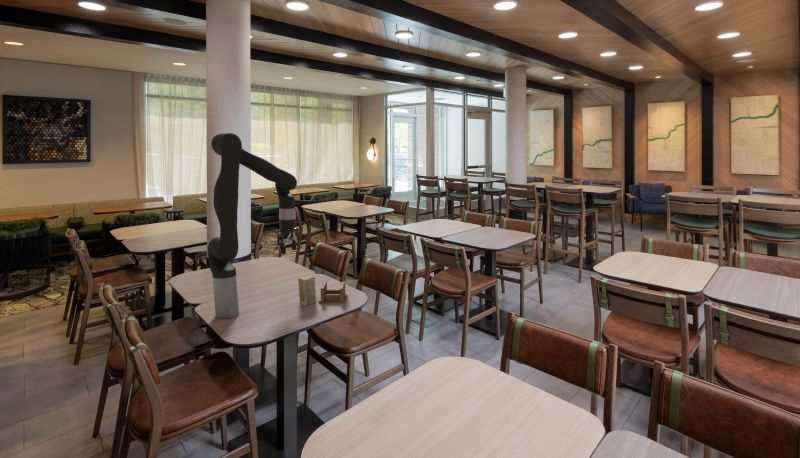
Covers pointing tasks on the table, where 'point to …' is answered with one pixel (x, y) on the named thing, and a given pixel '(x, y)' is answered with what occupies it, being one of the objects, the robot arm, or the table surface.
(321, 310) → the table surface
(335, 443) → the table surface
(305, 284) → the skincare box
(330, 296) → the stand
